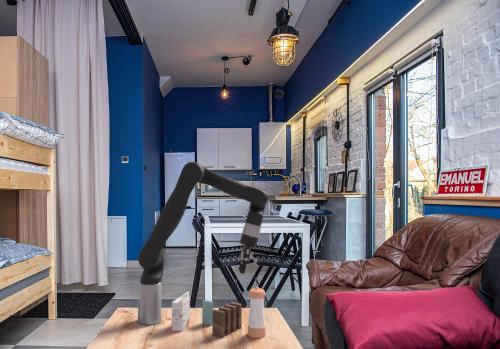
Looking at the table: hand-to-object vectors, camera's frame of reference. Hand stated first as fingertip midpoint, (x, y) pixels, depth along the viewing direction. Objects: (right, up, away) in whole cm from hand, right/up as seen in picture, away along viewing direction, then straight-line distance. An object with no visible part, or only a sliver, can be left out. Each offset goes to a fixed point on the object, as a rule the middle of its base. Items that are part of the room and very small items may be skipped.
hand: (241, 271), depth 164 cm
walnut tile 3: (-5, -23, -4) cm, 24 cm away
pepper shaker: (+6, -23, -9) cm, 26 cm away
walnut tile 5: (-9, -23, -11) cm, 27 cm away
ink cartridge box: (-26, -23, -2) cm, 35 cm away
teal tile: (-15, -23, +2) cm, 28 cm away
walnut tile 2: (-2, -23, -1) cm, 24 cm away
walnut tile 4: (-7, -23, -7) cm, 25 cm away
